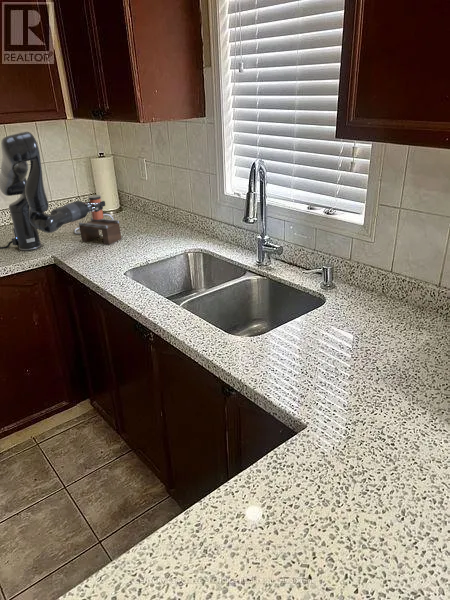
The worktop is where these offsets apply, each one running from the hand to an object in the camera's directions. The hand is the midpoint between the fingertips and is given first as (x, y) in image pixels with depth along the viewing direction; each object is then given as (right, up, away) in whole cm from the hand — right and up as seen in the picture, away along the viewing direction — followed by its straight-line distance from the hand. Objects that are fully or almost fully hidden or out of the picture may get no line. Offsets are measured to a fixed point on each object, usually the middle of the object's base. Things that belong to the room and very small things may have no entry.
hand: (99, 202), depth 203 cm
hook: (-8, -9, +21) cm, 24 cm away
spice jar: (-1, -7, +1) cm, 7 cm away
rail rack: (0, -16, +5) cm, 17 cm away
